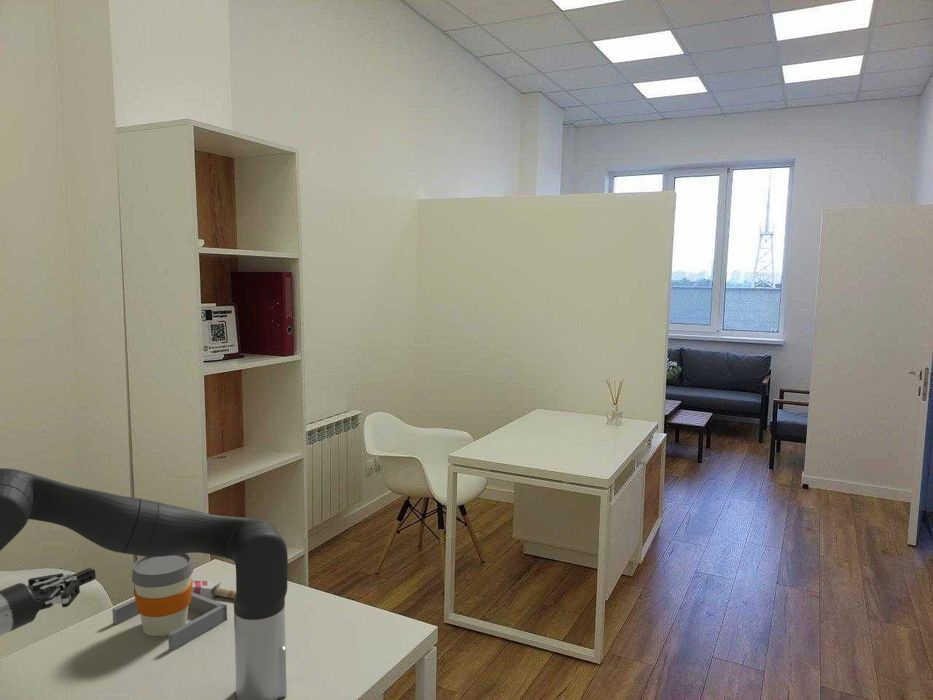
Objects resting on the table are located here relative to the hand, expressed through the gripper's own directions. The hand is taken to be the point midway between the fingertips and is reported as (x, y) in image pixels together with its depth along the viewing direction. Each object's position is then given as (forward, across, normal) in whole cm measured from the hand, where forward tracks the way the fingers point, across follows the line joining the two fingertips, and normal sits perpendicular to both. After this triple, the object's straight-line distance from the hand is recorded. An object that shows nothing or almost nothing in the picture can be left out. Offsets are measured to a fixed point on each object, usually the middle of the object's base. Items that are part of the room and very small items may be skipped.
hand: (93, 573), depth 135 cm
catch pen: (+17, 0, +19) cm, 26 cm away
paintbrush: (+30, +1, +20) cm, 36 cm away
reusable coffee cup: (+15, 0, +20) cm, 25 cm away
